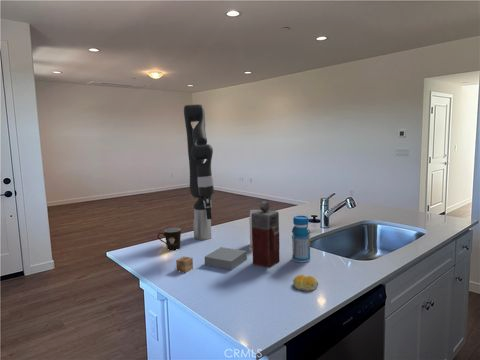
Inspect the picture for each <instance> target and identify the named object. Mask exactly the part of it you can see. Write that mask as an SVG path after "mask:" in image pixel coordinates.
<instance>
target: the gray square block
mask: <svg viewBox="0 0 480 360" xmlns="http://www.w3.org/2000/svg"><path fill="white" fill-rule="evenodd" d="M247 252H248V251H247V250H241V249H234V248H228V247H223V246H221V247H219V248H217V249H216V250H214V251H212V252H210V253H208V254H206V255H205V256H204V266H207V267H212V268H218V269H223V270H226V271H233V270H235V269H236V268H237V267H238V266H240V265H241V264H242V263H244V262H246V261H247V260H248V254H247Z"/></svg>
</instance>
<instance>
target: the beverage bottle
mask: <svg viewBox="0 0 480 360" xmlns="http://www.w3.org/2000/svg"><path fill="white" fill-rule="evenodd" d="M309 219H310V218H309V217H308V216H307V215H302V214H301V215H294V216H293V220H292V222H293V225H294V226H293V227H292V230H291V233H292V235H291V240H292V241H291V242H292V244H291V245H292V246H291V247H292V255H291V257H292V259H291V260H293V261H294V262H297V263H307V262H310V261H311V238H312V236H311V235H310V234H311V229H310V227H309V223H310V221H309Z"/></svg>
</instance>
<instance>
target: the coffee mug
mask: <svg viewBox="0 0 480 360" xmlns="http://www.w3.org/2000/svg"><path fill="white" fill-rule="evenodd" d="M163 231H164V232H159V233H157V238H158V240H159V241H160V242H162V243H164V244H166V247H167V250H168V249H169V250H168V251H170V250H174V251H177V250H176V249H178V250H180V249H181V234H182V228H179V227H169V228H165V229H164V230H163ZM160 235H163V236H164V237H165V241H164V240H163V239H161V238H160V237H159V236H160ZM179 248H180V249H179Z"/></svg>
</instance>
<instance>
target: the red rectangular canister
mask: <svg viewBox="0 0 480 360" xmlns="http://www.w3.org/2000/svg"><path fill="white" fill-rule="evenodd" d="M259 210H260V211H257V212H254V213H252V215H251V217H252V247H251V249H252V265H256V266H260V267H263V268H264V267H265V268H268V269H269V268H272V267H274V265H277V264H278V263H280V260H281V259H280V257H281V255H280V216H279V215H280V213H279V211H276V210H270V203H269V201H261V203H260V205H259Z"/></svg>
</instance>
